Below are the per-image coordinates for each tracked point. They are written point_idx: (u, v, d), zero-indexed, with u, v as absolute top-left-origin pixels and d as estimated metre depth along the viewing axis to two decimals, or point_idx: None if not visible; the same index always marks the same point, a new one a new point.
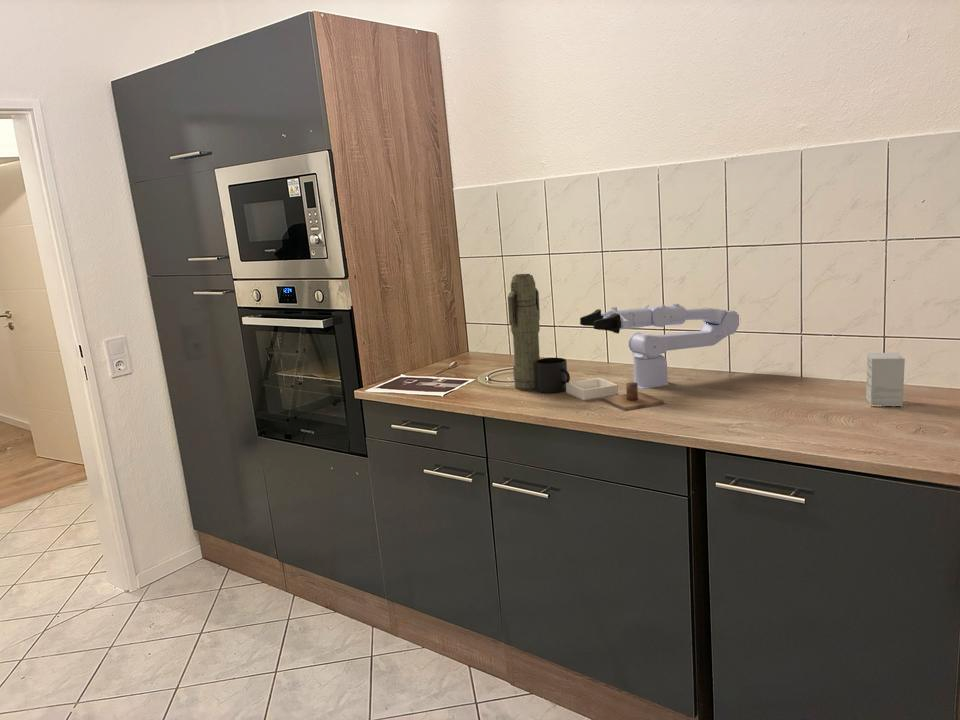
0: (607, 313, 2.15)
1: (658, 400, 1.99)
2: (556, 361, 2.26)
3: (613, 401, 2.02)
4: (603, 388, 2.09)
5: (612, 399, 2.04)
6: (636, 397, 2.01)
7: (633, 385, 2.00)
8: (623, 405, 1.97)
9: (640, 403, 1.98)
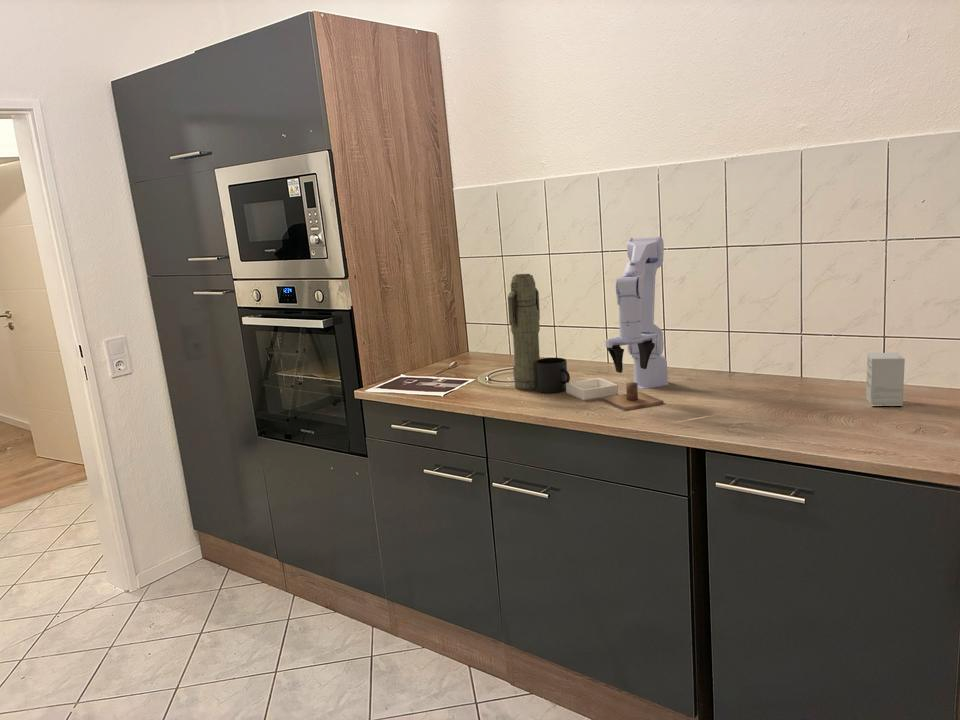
0: (624, 342, 1.97)
1: (658, 400, 1.99)
2: (556, 361, 2.26)
3: (613, 401, 2.02)
4: (603, 388, 2.09)
5: (612, 399, 2.04)
6: (636, 397, 2.01)
7: (633, 385, 2.00)
8: (623, 405, 1.97)
9: (640, 403, 1.98)
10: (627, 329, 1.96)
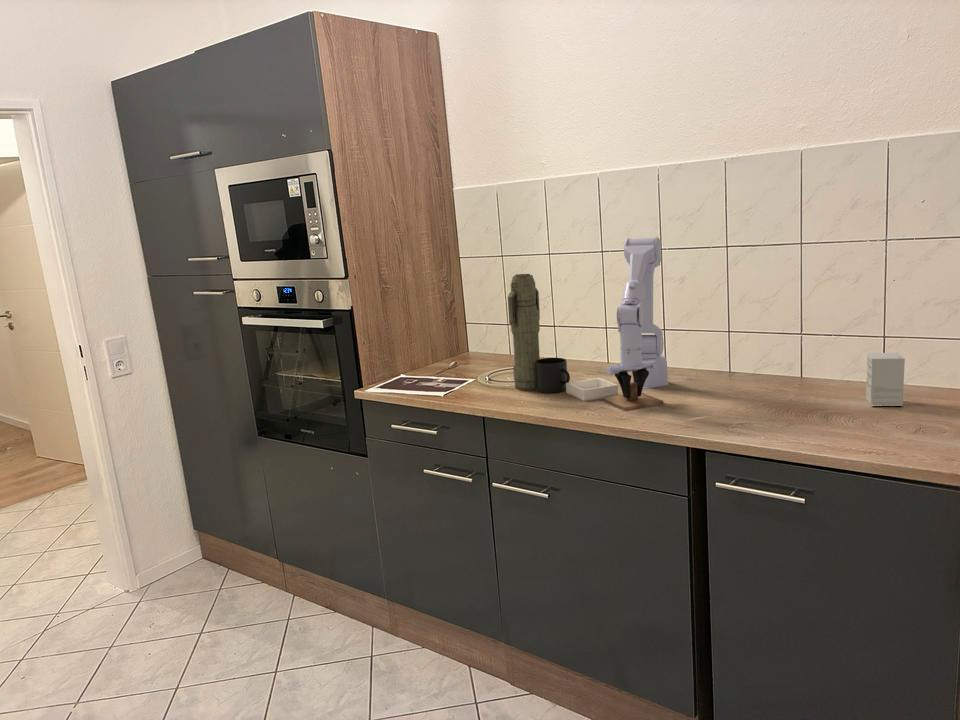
0: None
1: (658, 400, 1.99)
2: (556, 361, 2.26)
3: (613, 401, 2.02)
4: (603, 388, 2.09)
5: (612, 399, 2.04)
6: (636, 397, 2.01)
7: (633, 385, 2.00)
8: (623, 405, 1.97)
9: (640, 403, 1.98)
10: (628, 357, 1.97)
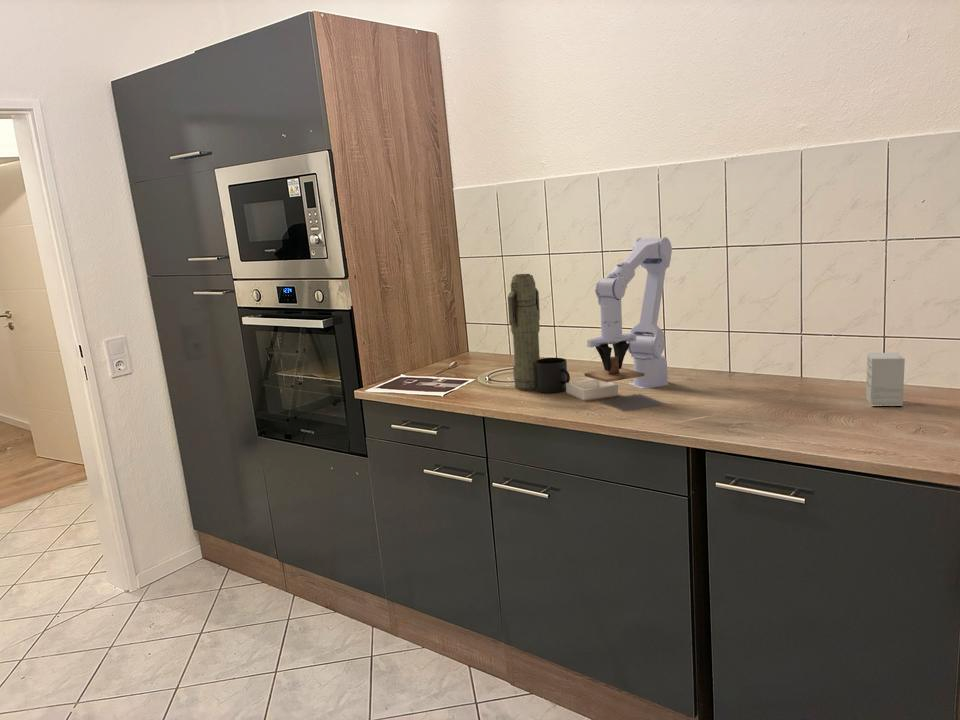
0: (605, 342, 2.02)
1: (639, 373, 2.03)
2: (556, 361, 2.26)
3: (595, 375, 2.05)
4: (603, 388, 2.09)
5: (594, 374, 2.07)
6: (617, 371, 2.05)
7: (614, 359, 2.04)
8: (605, 378, 2.00)
9: (621, 375, 2.01)
10: (608, 329, 2.01)
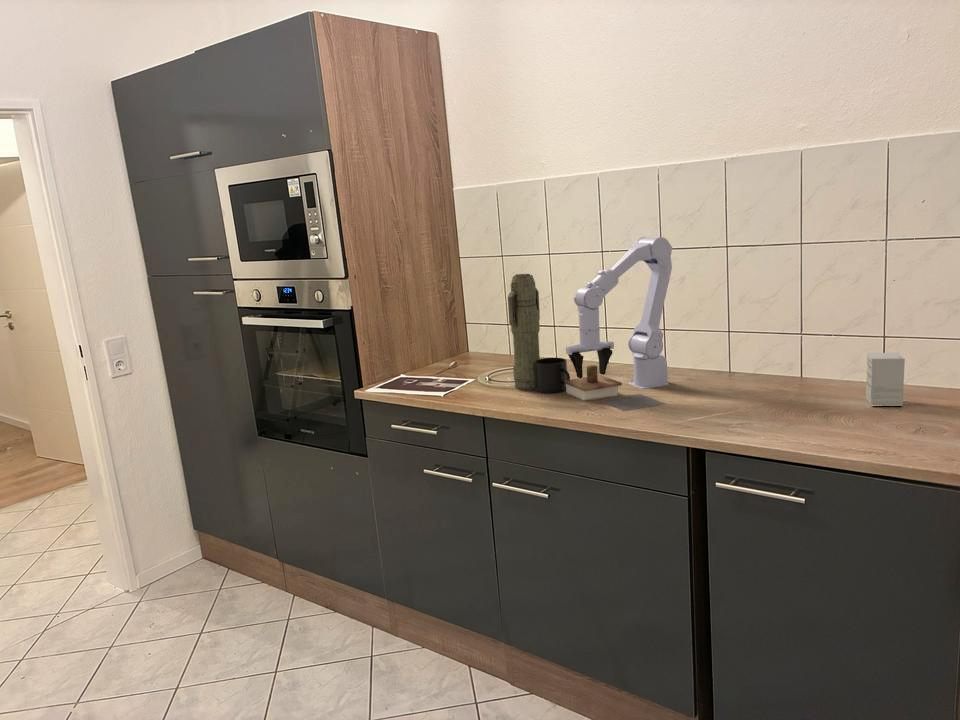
0: None
1: (616, 382, 2.10)
2: (556, 361, 2.26)
3: (574, 383, 2.12)
4: (603, 388, 2.09)
5: (573, 381, 2.14)
6: (596, 379, 2.11)
7: (593, 368, 2.10)
8: (583, 387, 2.07)
9: (599, 385, 2.08)
10: (586, 337, 2.08)
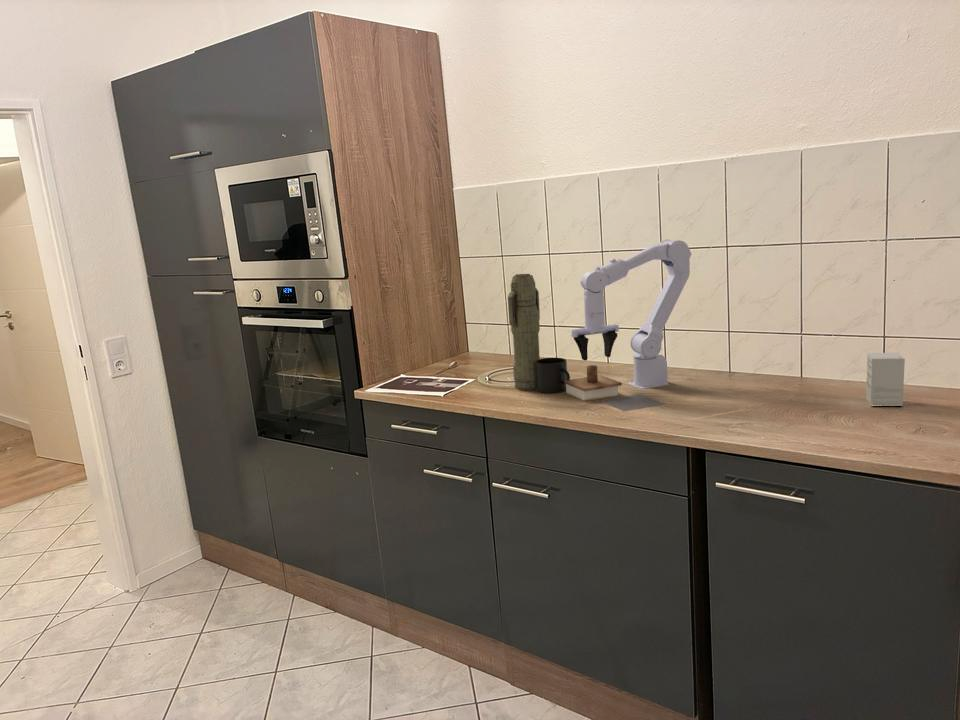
0: (588, 332, 2.13)
1: (616, 382, 2.10)
2: (556, 361, 2.26)
3: (574, 383, 2.12)
4: (603, 388, 2.09)
5: (573, 381, 2.14)
6: (596, 379, 2.11)
7: (593, 368, 2.10)
8: (583, 387, 2.07)
9: (599, 385, 2.08)
10: (591, 320, 2.12)
